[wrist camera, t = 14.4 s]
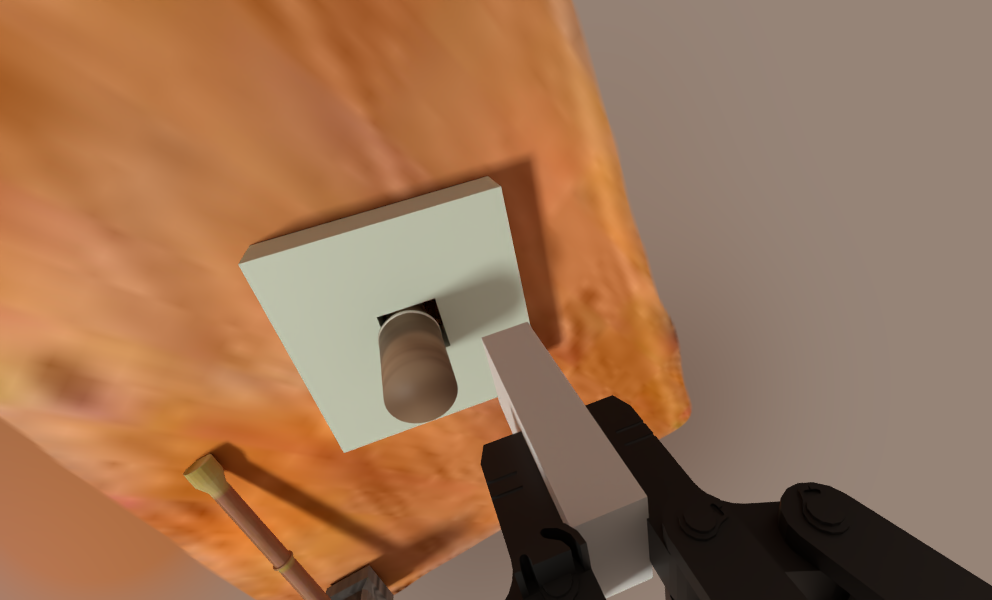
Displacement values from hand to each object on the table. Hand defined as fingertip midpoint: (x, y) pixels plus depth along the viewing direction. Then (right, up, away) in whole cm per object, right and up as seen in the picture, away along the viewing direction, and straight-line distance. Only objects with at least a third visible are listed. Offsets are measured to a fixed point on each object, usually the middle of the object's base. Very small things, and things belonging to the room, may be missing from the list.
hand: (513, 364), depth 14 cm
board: (-8, +1, +28) cm, 29 cm away
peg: (-9, +1, +28) cm, 29 cm away
